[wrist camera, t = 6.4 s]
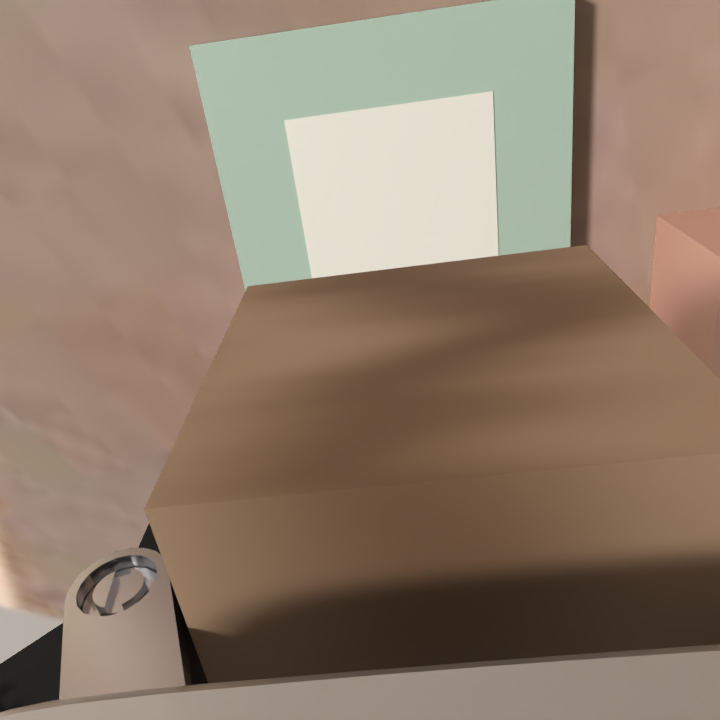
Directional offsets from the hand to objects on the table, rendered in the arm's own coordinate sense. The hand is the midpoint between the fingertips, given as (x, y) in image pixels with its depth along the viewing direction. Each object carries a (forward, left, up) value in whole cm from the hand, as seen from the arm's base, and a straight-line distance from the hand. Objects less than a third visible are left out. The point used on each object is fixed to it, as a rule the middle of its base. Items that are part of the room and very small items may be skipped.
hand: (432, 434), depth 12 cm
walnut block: (0, 0, -1) cm, 1 cm away
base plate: (0, 0, -18) cm, 18 cm away
